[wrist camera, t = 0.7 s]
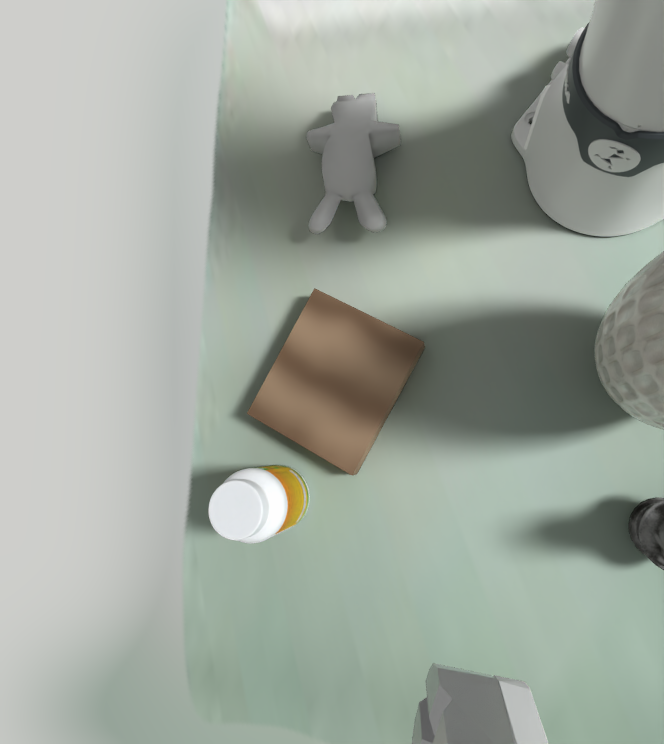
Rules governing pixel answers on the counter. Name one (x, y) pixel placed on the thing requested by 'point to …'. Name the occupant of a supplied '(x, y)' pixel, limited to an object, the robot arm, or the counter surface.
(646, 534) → the salt shaker
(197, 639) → the counter surface
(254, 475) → the supplement bottle
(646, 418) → the vase
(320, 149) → the bunny figurine
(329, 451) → the walnut base
